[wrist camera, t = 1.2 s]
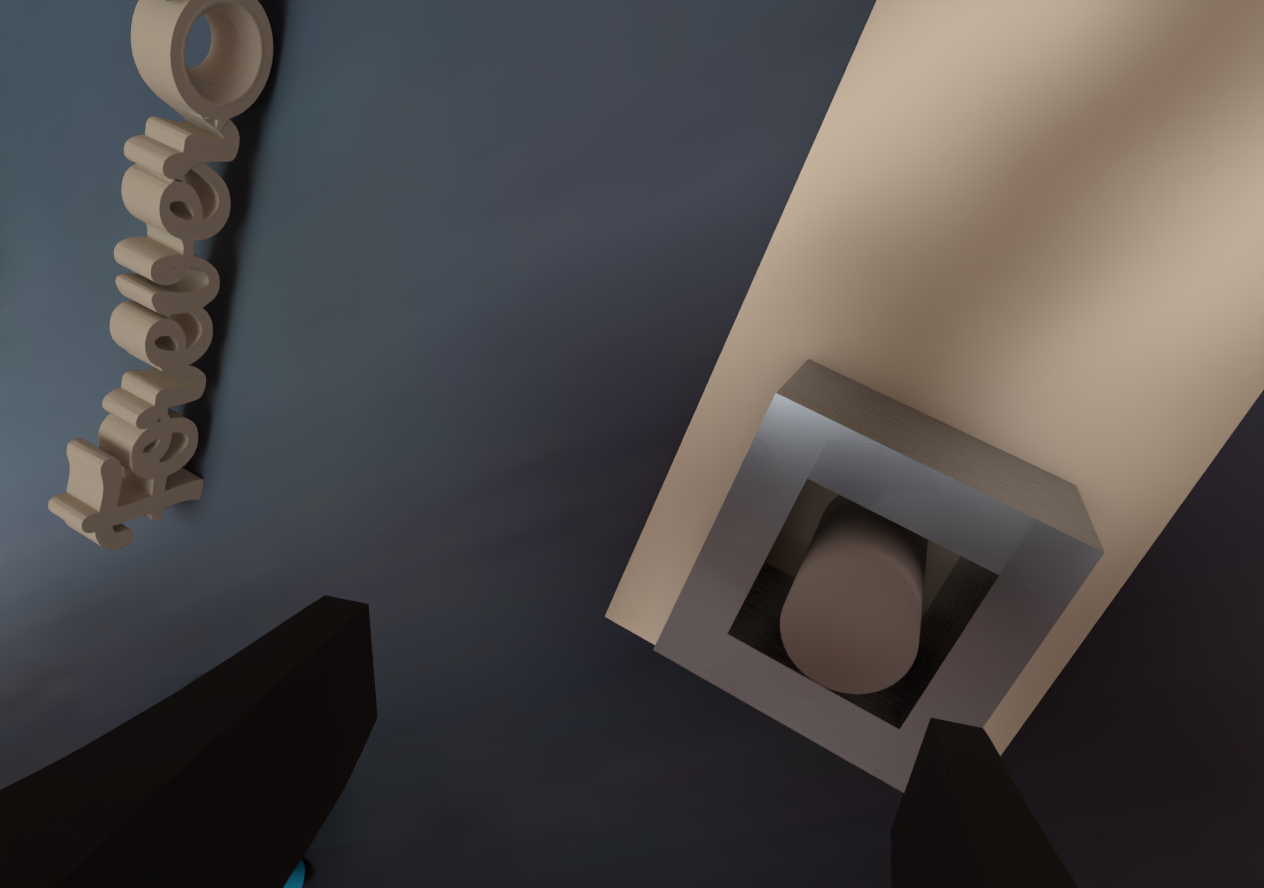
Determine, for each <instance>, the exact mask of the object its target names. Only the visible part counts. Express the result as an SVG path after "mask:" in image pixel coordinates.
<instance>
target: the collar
mask: <svg viewBox="0 0 1264 888" xmlns="http://www.w3.org/2000/svg"><path fill="white" fill-rule="evenodd" d="M808 479H809V480H811V481H813V482H815V483H817V484H819V485H821V486H823V487H825V488H827V489H829V490H831V491H833V492H835V493H837V494H839V495H841V496H843V497H845V498H847V499H849V500H851V501H853V502H855V503H857V504H859V505H861V506H863V507H865V508H867V509H869V510H871V511H873V512H875V513H877V514H879V515H881V516H883V517H885V518H887V519H889V520H891V521H893V522H895V523H897V524H899V525H901V526H903V527H905V528H907V529H909V530H910V531H912V532H914V533H916V534H918V535H920V536H922V537H924V538H926V539H928V540H930V541H932V542H934V543H936V544H938V545H940V546H942V547H944V548H946V549H948V550H950V551H952V552H954V553H956V554H958V555H960V558H959V559H958V561H957V563H956V564H955V566H954V567H953V569H952V571H951V572H950V574H949V575H948V577H947V579H946V580H945V582H944V584H943V585H942V587H941V588H940V590H939V592H938V593H937V595H936V596H935V598H934V600H933V601H932V603H931V605H930V606H929V608H928V609H927V611H926V613H925V614H924V616H923V617H922V619H921V626H920V637H919V646H918V652H917V655H916V658H915V660H914V662H913V664H912V666H911V668H910V669H909V670H908V672H907V673H906V674H905V675H904V676H903V677H902V678H901V679H900V680H899V681H897V682H896V683H895V684H893V685H891V686H889V687H887V688H885V689H882V690H880V691H876V692H872V693H866V694H849V693H842V692H838V691H834V690H831V689H828V688H826V687H824V686H822V685H820V684H818V683H816V682H814V681H813V680H811V679H810V678H809V677H807V676H806V675H805V674H804V673H803V672H802V671H801V670H800V669H799V668H798V667H797V666H796V665H795V664H794V663H793V661H792V660H791V658H790V657H789V655H788V653H787V651H786V649H785V647H784V644H783V641H782V638H781V632H780V618H781V612H782V609H783V606H784V603H785V601H786V599H787V596H788V594H789V592H790V589H791V587H792V585H793V582H794V580H795V578H794V577H793V576H791V575H789V574H787V573H785V572H783V571H781V570H779V569H778V568H776V567H774V566H772V565H770V564H768V563H766V560H767V558H768V556H769V555H770V553H771V551H772V549H773V547H774V545H775V543H776V541H777V539H778V537H779V535H780V533H781V531H782V529H783V527H784V525H785V524H786V522H787V520H788V518H789V516H790V514H791V512H792V510H793V508H794V506H795V504H796V502H797V500H798V498H799V496H800V494H801V492H802V491H803V489H804V487H805V485H806V483H807V481H808ZM1104 553H1105V552H1104V550H1103V547H1102V545H1101V543H1100V540H1099V538H1098V536H1097V533H1096V531H1095V529H1094V526H1093V524H1092V522H1091V519H1090V517H1089V514H1088V512H1087V510H1086V507H1085V505H1084V503H1083V500H1082V498H1081V496H1080V493H1079V491H1078V489H1077V486H1076V485H1075V484H1072V483H1070V482H1068V481H1066V480H1064V479H1062V478H1060V477H1058V476H1055V475H1053V474H1051V473H1049V472H1047V471H1045V470H1043V469H1041V468H1039V467H1036V466H1034V465H1032V464H1030V463H1028V462H1026V461H1024V460H1022V459H1020V458H1017V457H1015V456H1013V455H1011V454H1009V453H1007V452H1005V451H1003V450H1000V449H998V448H996V447H994V446H992V445H990V444H988V443H986V442H984V441H981V440H979V439H977V438H975V437H973V436H971V435H969V434H967V433H964V432H962V431H960V430H958V429H956V428H954V427H952V426H950V425H948V424H945V423H943V422H941V421H939V420H937V419H935V418H933V417H931V416H929V415H926V414H924V413H922V412H920V411H918V410H916V409H914V408H912V407H909V406H907V405H905V404H903V403H901V402H899V401H897V400H895V399H893V398H890V397H888V396H886V395H884V394H882V393H880V392H878V391H876V390H873V389H871V388H869V387H867V386H865V385H863V384H861V383H859V382H857V381H854V380H852V379H850V378H848V377H846V376H844V375H842V374H840V373H838V372H835V371H833V370H831V369H829V368H827V367H825V366H823V365H821V364H818V363H816V362H814V361H812V360H810V359H808V360H807V361H806V362H805V363H804V364H803V365H802V366H801V367H800V368H799V369H798V370H797V371H796V372H795V373H794V374H793V375H792V377H791V378H790V379H789V380H788V381H787V382H786V383H785V384H784V385H783V386H782V387H781V388H780V389H779V390H778V391H777V392H776V394H775V396H774V398H773V400H772V402H771V404H770V406H769V408H768V410H767V412H766V414H765V417H764V419H763V421H762V423H761V425H760V427H759V429H758V431H757V433H756V435H755V438H754V440H753V442H752V444H751V446H750V448H749V450H748V452H747V454H746V456H745V458H744V461H743V463H742V465H741V467H740V469H739V471H738V473H737V475H736V477H735V479H734V482H733V484H732V486H731V488H730V490H729V492H728V494H727V496H726V498H725V500H724V502H723V505H722V507H721V509H720V511H719V513H718V515H717V517H716V519H715V521H714V523H713V526H712V528H711V530H710V532H709V534H708V536H707V538H706V540H705V542H704V544H703V546H702V549H701V551H700V553H699V555H698V557H697V559H696V561H695V563H694V565H693V567H692V570H691V572H690V574H689V576H688V578H687V580H686V582H685V584H684V586H683V588H682V590H681V593H680V595H679V597H678V599H677V601H676V603H675V605H674V607H673V609H672V611H671V614H670V616H669V618H668V620H667V622H666V624H665V626H664V628H663V630H662V632H661V634H660V637H659V639H658V641H657V643H656V645H655V647H654V649H653V650H654V651H656V652H658V653H660V654H661V655H663V656H665V657H667V658H668V659H670V660H672V661H674V662H675V663H677V664H679V665H681V666H682V667H684V668H686V669H688V670H689V671H691V672H693V673H695V674H696V675H698V676H700V677H702V678H703V679H705V680H707V681H709V682H710V683H712V684H714V685H716V686H717V687H719V688H721V689H723V690H724V691H726V692H728V693H730V694H731V695H733V696H735V697H737V698H738V699H740V700H742V701H744V702H745V703H747V704H749V705H751V706H752V707H754V708H756V709H758V710H759V711H761V712H763V713H765V714H766V715H768V716H770V717H772V718H773V719H775V720H777V721H779V722H780V723H782V724H784V725H786V726H787V727H789V728H791V729H793V730H794V731H796V732H798V733H800V734H801V735H803V736H805V737H807V738H808V739H810V740H812V741H814V742H815V743H817V744H819V745H821V746H822V747H824V748H826V749H828V750H829V751H831V752H833V753H835V754H836V755H838V756H840V757H842V758H843V759H845V760H847V761H849V762H850V763H852V764H854V765H856V766H857V767H859V768H861V769H863V770H864V771H866V772H868V773H870V774H871V775H873V776H875V777H877V778H878V779H880V780H882V781H884V782H885V783H887V784H889V785H891V786H892V787H894V788H896V789H898V790H899V791H901V792H903V793H904V792H905V789H906V786H907V783H908V781H909V778H910V775H911V772H912V769H913V766H914V763H915V761H916V758H917V755H918V752H919V749H920V746H921V744H922V741H923V738H924V735H925V732H926V729H927V727H928V724H929V721H930V718H936V719H941V720H946V721H951V722H956V723H961V724H966V725H971V726H976V727H981V728H983V727H984V725H985V724H986V723H987V721H988V720H989V718H990V717H991V715H992V714H993V712H994V711H995V710H996V708H997V707H998V705H999V704H1000V702H1001V701H1002V700H1003V698H1004V697H1005V695H1006V694H1007V692H1008V691H1009V689H1010V688H1011V687H1012V685H1013V684H1014V682H1015V681H1016V679H1017V678H1018V677H1019V675H1020V674H1021V672H1022V671H1023V669H1024V668H1025V666H1026V665H1027V664H1028V662H1029V661H1030V659H1031V658H1032V656H1033V655H1034V654H1035V652H1036V651H1037V649H1038V648H1039V646H1040V645H1041V643H1042V642H1043V641H1044V639H1045V638H1046V636H1047V635H1048V633H1049V632H1050V631H1051V629H1052V628H1053V626H1054V625H1055V623H1056V622H1057V620H1058V619H1059V618H1060V616H1061V615H1062V613H1063V612H1064V610H1065V609H1066V608H1067V606H1068V605H1069V603H1070V602H1071V600H1072V599H1073V597H1074V596H1075V595H1076V593H1077V592H1078V590H1079V589H1080V587H1081V586H1082V585H1083V583H1084V582H1085V580H1086V579H1087V577H1088V576H1089V574H1090V573H1091V572H1092V570H1093V569H1094V567H1095V566H1096V564H1097V563H1098V562H1099V560H1100V559H1101V557H1102V556H1103V554H1104Z"/></svg>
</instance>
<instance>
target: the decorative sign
mask: <svg viewBox="0 0 1264 888" xmlns="http://www.w3.org/2000/svg"><path fill="white" fill-rule="evenodd" d="M203 14H204V15H205V17H206V18H207V20H208V22H209V24H210V28H211V36H212V40H211V46H210V50H209V52H208V54H207V56H206V58H205V59H204V61H203V62H202V63H201V64H200V65H198V66H197V67H195V68H192V69H188V66H187V63H186V58H185V53H186V44H187V39H188V36H189V33H190V30H191V28H192V26H193V24H194V22H195V21H196V19H197V18H198V17H200V16H201V15H203ZM131 46H132V53H133V57H134V60H135V63H136V66H137V68H138V70H139V73H140V75H141V76H142V78H143V80H144V81H145V82H146V84H147V85H148V86H149V87H150V88H151V89H152V90H153V91H154V93H155V94H156V95H157V96H158V97H159V98H161V99H162V100H163V101H165V102H166V103H167V104H168V105H170V106H171V107H172V108H174V109H175V110H176V111H177V112H179V113H180V114H181V115H182V116H183V117H184V118H185V120H186V121H187V122H176V121H171V120H166V119H163V118H160V117H155V116H153V117H150V118H149V119H148V121H147V122H146V130H145V135H138V136H134V137H132V138H130V139H129V140H127V141H126V144H125V146H124V154H125V156H126V157H127V158H128V159H129V160H131V161H133V162H135V163H136V164H135V165H133V166H131V167H130V168H129V169H128V170H127V171H126V173H125V175H124V177H123V181H122V198H123V202H124V204H125V206H126V208H127V209H128V211H129V212H130V213H131V214H132V215H133V216H135V217H136V218H138V219H140V220H142V221H144V222H145V223H146V225H147V229H148V233H147V237H130V238H127V239H124V240H122V241H120V242H119V243H117V245H116V247H115V249H114V257H115V260H116V261H117V262H118V263H119V264H121V265H122V266H124V267H126V268H128V269H130V270H132V271H134V272H136V273H138V274H133V273H127V274H120V275H118V276H117V278H116V285H117V287H118V289H119V291H120V292H121V293H122V294H123V295H124V296H126V297H128V298H130V299H132V300H134V301H126V302H123V303H121V304H119V305H118V306H117V307H116V308H115V310H114V311H113V313H112V316H111V319H110V332H111V336H112V338H113V340H114V341H115V342H116V343H117V344H118V345H119V346H120V347H122V348H124V349H126V350H127V351H128V352H129V353H130V354H132V355H133V356H135V357H137V358H139V359H141V360H143V361H144V362H146V363H148V364H150V365H152V366H154V367H155V368H153V369H146V370H133V371H128V372H126V373H125V374H124V375H123V377H122V385H121V388H117V389H115V390H113V391H111V392H110V393H108V394H107V395H106V397H105V398H104V399H103V403H102V405H103V408H104V409H105V410H106V411H108V412H110V414H109V415H108V416H107V417H106V418H105V420H104V421H103V422H102V424H101V426H100V429H99V436H98V440H99V448H97V447H96V446H94V445H92V444H91V443H89V442H87V441H85V440H84V439H81V438H78V439H74V440H72V441H71V442H70V443H69V444H68V446H67V456H68V459H69V463H70V475H69V481H68V486H67V491H66V493H62V494H59V495H56V496H54V497H53V498H51V499H50V501H49V503H48V508H49V510H50V511H51V512H52V513H54V514H56V515H57V516H59V517H61V518H62V519H64V520H65V522H66V523H67V524H68V525H69V526H70V527H71V528H73V529H74V530H76V531H78V532H79V533H81V534H82V535H84V536H86V537H87V538H89V539H91V540H92V541H94V542H95V543H97V544H99V545H100V546H102V547H104V548H106V549H109V550H118V549H121V548H123V547H125V546H126V545H128V544H129V543H130V542H131V541H132V539H133V535H134V534H133V531H132V530H131V529H129V528H127V527H126V526H124V525H122V524H121V523H124V522H127V521H129V520H132V519H135V518H137V517H140V516H143V515H145V516H147V517H148V518H150V519H152V520H153V521H157V520H159V519H160V518H161V517H162V516H163V508H165V507H168V506H171V505H174V504H177V503H180V502H183V501H187V500H200V499H201V493H202V488H203V482H204V480H203V479H201V478H199V477H198V476H196V475H194V474H192V473H191V472H189V471H187V470H185V469H184V468H182V467H183V466H184V465H185V464H186V463H187V462H188V461H189V460H190V459H191V458H192V456H193V455H194V453H195V451H196V448H197V444H198V430H197V427H196V425H195V424H194V423H193V422H192V421H191V420H189V419H187V418H185V417H184V416H182V415H180V414H178V413H176V412H175V411H173V410H171V409H169V407H174V406H178V405H181V404H185V403H188V402H191V401H194V400H197V399H199V398H200V397H201V396H202V395H203V392H204V389H205V385H206V376H205V374H204V373H203V372H202V371H201V370H200V369H198V368H196V367H194V366H192V365H190V364H192V363H193V362H195V361H196V360H198V359H199V358H200V357H201V356H202V355H203V354H204V353H205V352H206V351H207V349H208V347H209V346H210V344H211V341H212V336H213V324H212V320H211V318H210V316H209V314H208V313H207V312H206V311H205V310H204V309H203V307H204V306H206V305H207V304H208V303H210V302H211V301H212V300H213V299H214V298H215V297H216V295H217V293H218V291H219V286H220V279H219V274H218V272H217V270H216V269H215V268H214V267H213V266H212V265H211V264H210V263H209V262H207V261H205V260H204V259H202V258H200V257H198V256H196V255H194V247H193V241H197V240H205V239H208V238H210V237H212V236H214V235H215V234H217V233H218V232H219V231H220V230H221V229H222V228H223V227H224V225H225V223H226V221H227V220H228V217H229V213H230V205H231V202H230V194H229V190H228V188H227V186H226V184H225V182H224V181H223V179H222V178H221V177H220V176H219V175H218V174H217V173H216V172H215V171H214V170H213V169H211V168H210V167H209V166H207V165H206V164H204V163H205V162H229V161H232V160H234V159H235V157H236V155H237V152H238V148H239V140H240V137H239V132H238V130H237V128H236V126H235V125H234V124H233V122H232V121H231V120H230V119H229V118H232V117H235V116H237V115H239V114H241V113H242V112H244V111H245V110H246V109H248V108H249V107H250V106H251V105H252V104H253V103H254V102H255V101H256V99H257V98H258V97H259V95H260V94H261V92H262V90H263V88H264V86H265V84H266V82H267V79H268V77H269V74H270V70H271V65H272V59H273V37H272V31H271V27H270V23H269V20H268V17H267V15H266V13H265V11H264V9H263V7H262V6H261V4H260V3H259V2H258V0H139V1H138V3H137V6H136V8H135V11H134V15H133V19H132V26H131ZM181 177H182V180H183V181H181V180H179V178H181ZM164 315H168V317H166V316H164ZM121 466H122V467H121Z"/></svg>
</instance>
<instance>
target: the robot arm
mask: <svg viewBox="0 0 1264 888" xmlns="http://www.w3.org/2000/svg"><path fill="white" fill-rule="evenodd" d="M376 719H377V706H376V693H375V681H374V668H373V656H372V643H371V631H370V618H369V605H368V604H365V603H361V602H356V601H351V600H346V599H341V598H336V597H331V596H326V595H325V596H323V597H322V598H320V599H319V600H317V601H316V602H314V603H312V604H311V605H309V606H308V607H306V608H305V609H303V610H301V611H300V612H298V613H297V614H295V615H294V616H292V617H291V618H289V619H288V620H286V621H285V622H283V623H282V624H280V625H279V626H277V627H276V628H274V629H273V630H271V631H270V632H268V633H267V634H265V635H264V636H262V637H261V638H259V639H258V640H256V641H255V642H253V643H252V644H250V645H249V646H247V647H246V648H244V649H243V650H241V651H240V652H238V653H236V654H235V655H233V656H232V657H230V658H229V659H227V660H226V661H224V662H223V663H221V664H219V665H218V666H216V667H215V668H213V669H212V670H210V671H209V672H207V673H205V674H204V675H202V676H201V677H199V678H198V679H196V680H195V681H193V682H191V683H190V684H188V685H187V686H185V687H184V688H182V689H180V690H179V691H177V692H176V693H174V694H172V695H171V696H169V697H167V698H166V699H164V700H162V701H161V702H159V703H157V704H156V705H154V706H152V707H150V708H149V709H147V710H145V711H144V712H142V713H140V714H139V715H137V716H135V717H133V718H132V719H130V720H128V721H127V722H125V723H123V724H122V725H120V726H118V727H116V728H115V729H113V730H111V731H110V732H108V733H106V734H105V735H103V736H101V737H100V738H98V739H96V740H94V741H93V742H91V743H89V744H87V745H86V746H84V747H82V748H80V749H78V750H77V751H75V752H73V753H71V754H69V755H67V756H66V757H64V758H62V759H60V760H58V761H56V762H54V763H52V764H51V765H49V766H47V767H45V768H43V769H41V770H39V771H37V772H35V773H33V774H31V775H29V776H27V777H25V778H23V779H21V780H19V781H17V782H15V783H13V784H11V785H9V786H7V787H5V788H3V789H1V790H0V888H283V887H284V886H285V884H286V883H287V881H288V879H289V878H290V876H291V875H292V873H293V871H294V870H295V868H296V867H297V865H298V863H299V862H300V860H301V859H302V857H303V855H304V854H305V852H306V851H307V849H308V847H309V846H310V844H311V842H312V841H313V839H314V838H315V836H316V834H317V833H318V831H319V829H320V828H321V826H322V825H323V823H324V821H325V820H326V818H327V816H328V815H329V813H330V812H331V810H332V808H333V807H334V805H335V803H336V802H337V800H338V798H339V797H340V795H341V793H342V792H343V790H344V788H345V786H346V784H347V782H348V780H349V778H350V776H351V774H352V771H353V769H354V767H355V765H356V763H357V761H358V759H359V757H360V755H361V752H362V750H363V748H364V746H365V744H366V741H367V739H368V737H369V735H370V732H371V730H372V728H373V726H374V724H375V721H376ZM891 888H1079V887H1078V885H1077V884H1076V882H1075V881H1074V879H1073V878H1072V876H1071V875H1070V873H1069V871H1068V870H1067V868H1066V867H1065V865H1064V864H1063V862H1062V860H1061V859H1060V857H1059V855H1058V854H1057V852H1056V850H1055V849H1054V847H1053V846H1052V844H1051V842H1050V841H1049V839H1048V837H1047V836H1046V834H1045V832H1044V831H1043V829H1042V827H1041V826H1040V824H1039V822H1038V821H1037V819H1036V817H1035V815H1034V814H1033V812H1032V810H1031V809H1030V807H1029V805H1028V804H1027V802H1026V800H1025V798H1024V797H1023V795H1022V793H1021V791H1020V790H1019V788H1018V786H1017V785H1016V783H1015V781H1014V779H1013V778H1012V776H1011V774H1010V772H1009V771H1008V769H1007V767H1006V765H1005V763H1004V762H1003V760H1002V758H1001V756H1000V755H999V753H998V751H997V749H996V748H995V746H994V744H993V742H992V741H991V739H990V737H989V736H988V734H987V733H986V731H985V730H984V729H983V728H981V727H976V726H971V725H966V724H961V723H956V722H951V721H946V720H941V719H936V718H930V721H929V724H928V727H927V729H926V732H925V735H924V738H923V741H922V744H921V746H920V749H919V752H918V755H917V758H916V761H915V763H914V766H913V769H912V772H911V775H910V778H909V781H908V783H907V786H906V789H905V792H904V795H903V798H902V800H901V803H900V806H899V809H898V812H897V815H896V817H895V820H894V823H893V826H892V829H891Z"/></svg>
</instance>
